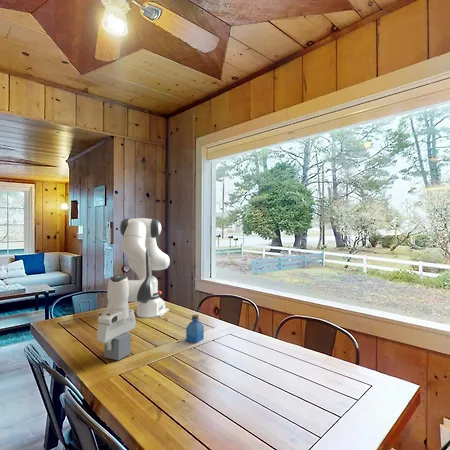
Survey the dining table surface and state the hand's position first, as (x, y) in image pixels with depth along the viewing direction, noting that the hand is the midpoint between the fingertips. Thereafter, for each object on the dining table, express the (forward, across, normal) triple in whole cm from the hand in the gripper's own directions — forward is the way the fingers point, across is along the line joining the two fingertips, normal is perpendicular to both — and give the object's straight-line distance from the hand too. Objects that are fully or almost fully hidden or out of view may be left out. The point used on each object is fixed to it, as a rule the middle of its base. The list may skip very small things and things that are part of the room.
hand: (117, 345), depth 131 cm
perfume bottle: (+5, -30, +22) cm, 37 cm away
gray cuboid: (+4, 0, 0) cm, 4 cm away
